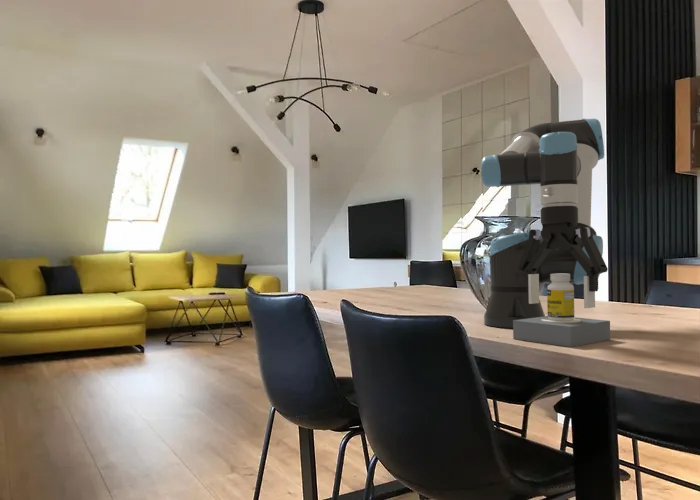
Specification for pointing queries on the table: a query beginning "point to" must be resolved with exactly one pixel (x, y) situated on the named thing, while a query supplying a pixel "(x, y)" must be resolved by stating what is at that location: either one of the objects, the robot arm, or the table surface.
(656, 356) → the table surface
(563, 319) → the supplement bottle
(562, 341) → the riser
